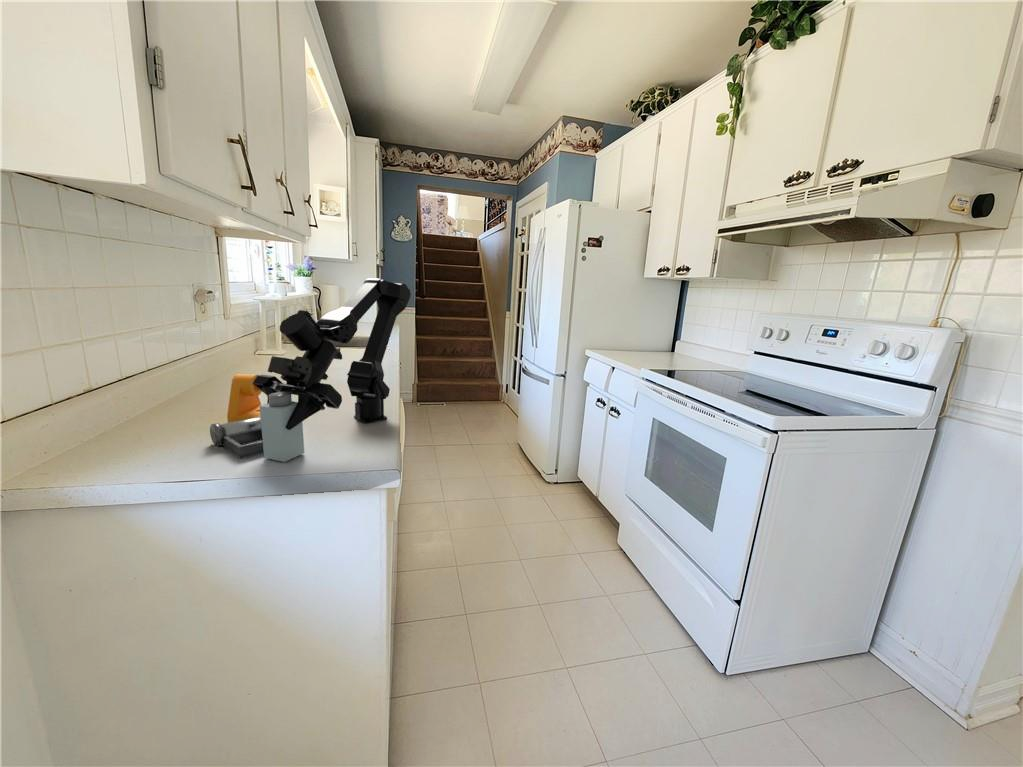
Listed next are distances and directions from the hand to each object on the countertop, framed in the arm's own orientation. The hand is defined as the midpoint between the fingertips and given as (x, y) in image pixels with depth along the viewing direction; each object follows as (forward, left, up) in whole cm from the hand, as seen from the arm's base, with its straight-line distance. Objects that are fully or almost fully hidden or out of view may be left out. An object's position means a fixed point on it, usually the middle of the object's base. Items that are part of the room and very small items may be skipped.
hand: (276, 426), depth 84 cm
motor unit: (0, -12, -7) cm, 14 cm away
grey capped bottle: (-1, -1, -7) cm, 7 cm away
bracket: (-4, -29, -7) cm, 30 cm away
